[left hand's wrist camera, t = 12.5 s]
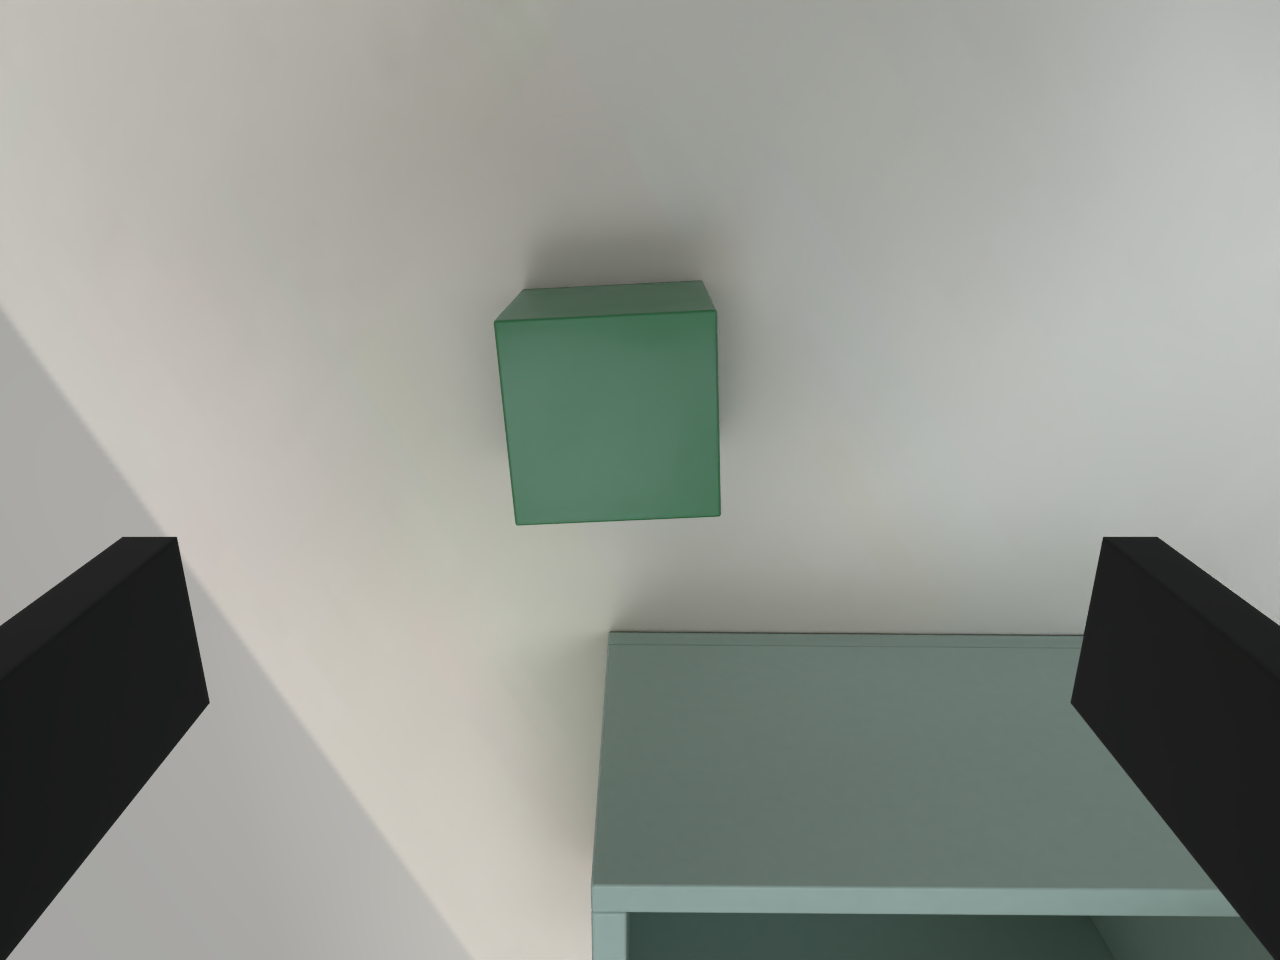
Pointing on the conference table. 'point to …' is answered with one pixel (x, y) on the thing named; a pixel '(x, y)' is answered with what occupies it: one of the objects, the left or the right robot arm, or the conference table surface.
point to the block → (611, 402)
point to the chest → (878, 808)
